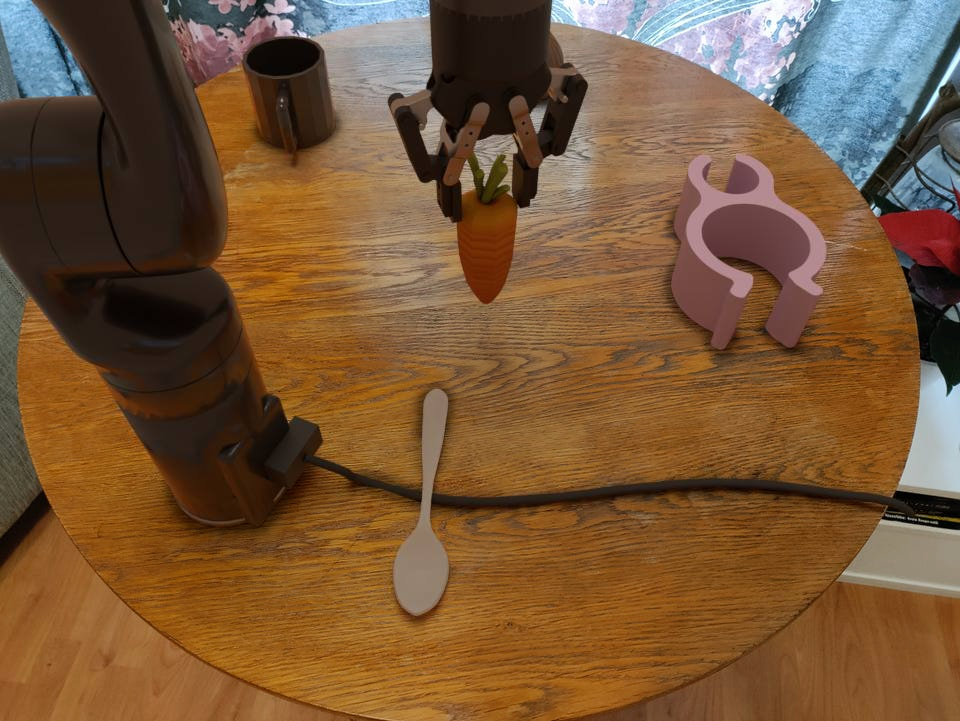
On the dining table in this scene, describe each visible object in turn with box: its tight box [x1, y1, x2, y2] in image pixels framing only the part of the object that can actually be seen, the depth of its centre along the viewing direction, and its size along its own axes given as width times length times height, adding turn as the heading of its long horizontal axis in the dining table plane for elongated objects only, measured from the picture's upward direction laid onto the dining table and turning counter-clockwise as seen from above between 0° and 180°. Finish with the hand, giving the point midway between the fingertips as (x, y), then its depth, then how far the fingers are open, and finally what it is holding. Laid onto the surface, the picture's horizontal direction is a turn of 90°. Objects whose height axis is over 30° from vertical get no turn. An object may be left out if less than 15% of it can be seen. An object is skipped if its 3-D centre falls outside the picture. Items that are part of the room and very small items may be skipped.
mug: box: [241, 35, 336, 154], centre depth 87 cm, size 13×9×9 cm
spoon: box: [392, 388, 450, 617], centre depth 60 cm, size 4×21×2 cm, turn 178°
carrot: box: [455, 150, 519, 305], centre depth 61 cm, size 5×5×15 cm
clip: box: [670, 153, 827, 351], centre depth 74 cm, size 20×12×7 cm, turn 3°
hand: (487, 207), depth 59 cm, fingers closed on carrot, 5 cm apart
